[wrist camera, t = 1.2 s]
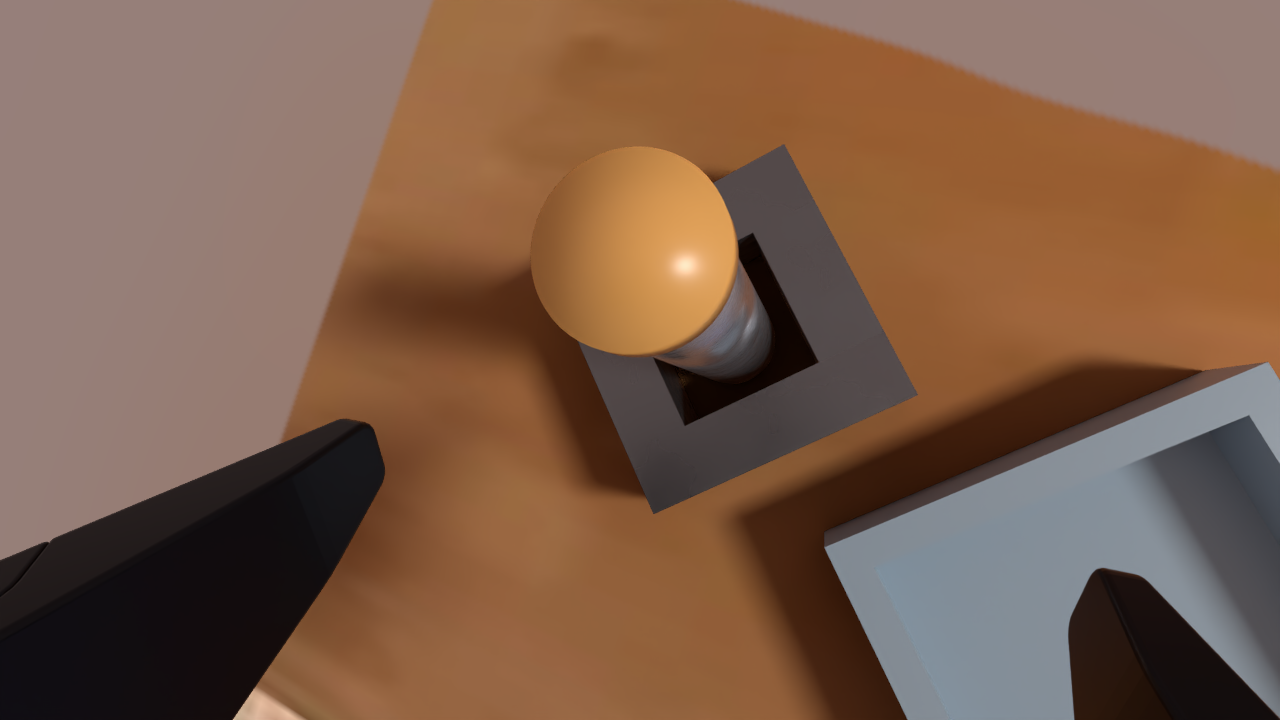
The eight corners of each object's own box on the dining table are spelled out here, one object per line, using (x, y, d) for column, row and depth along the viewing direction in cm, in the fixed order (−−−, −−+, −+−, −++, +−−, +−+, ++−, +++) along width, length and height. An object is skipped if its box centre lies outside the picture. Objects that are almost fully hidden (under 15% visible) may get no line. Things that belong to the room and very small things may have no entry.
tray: (1010, 916, 20) (1042, 997, 18) (824, 531, 23) (824, 547, 20) (1462, 783, 18) (1584, 852, 15) (1204, 370, 20) (1268, 361, 17)
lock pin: (708, 406, 24) (578, 388, 11) (667, 319, 25) (500, 209, 12) (799, 362, 23) (769, 292, 11) (754, 274, 24) (677, 108, 11)
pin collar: (674, 502, 24) (653, 514, 21) (578, 289, 26) (547, 272, 23) (905, 398, 22) (917, 394, 19) (788, 177, 24) (784, 144, 21)
